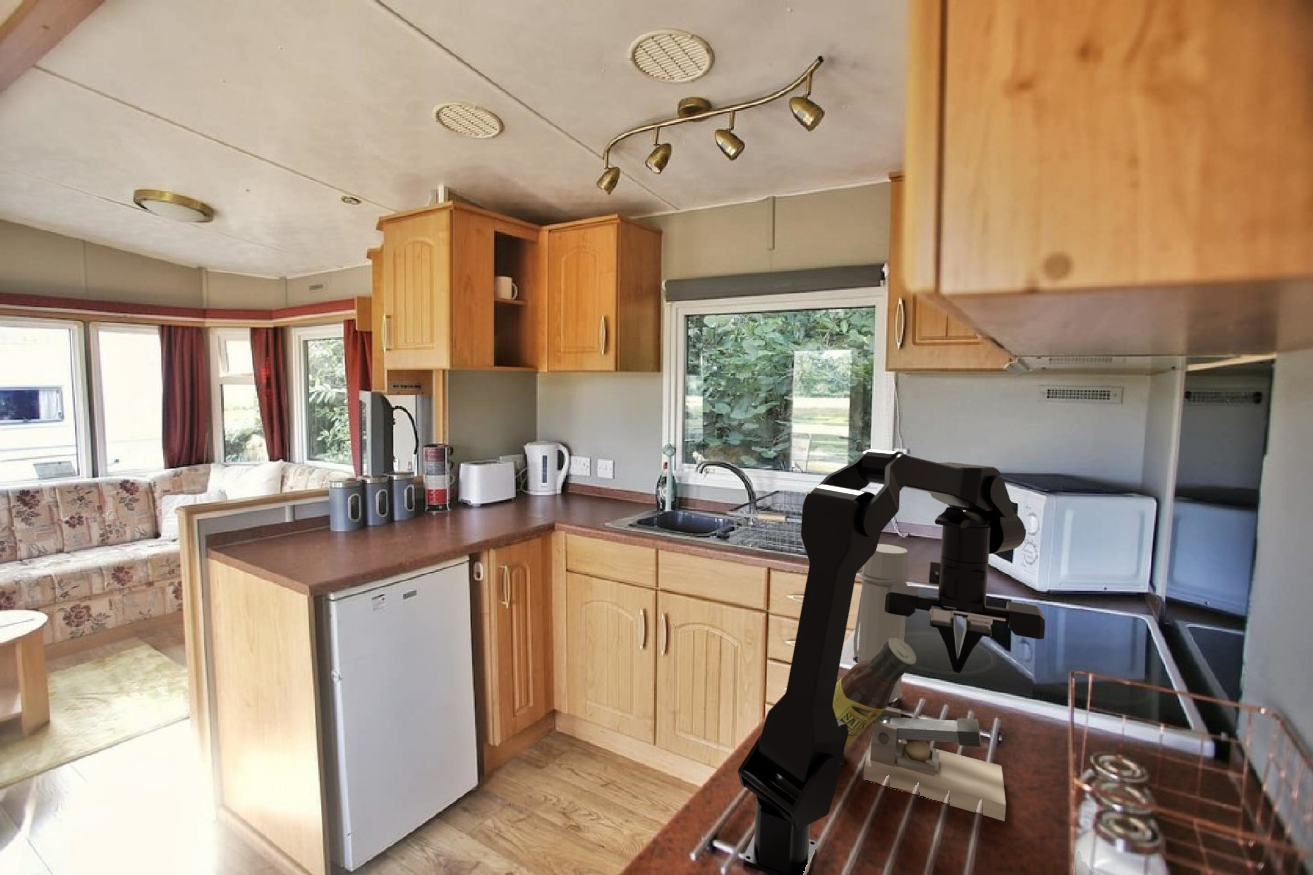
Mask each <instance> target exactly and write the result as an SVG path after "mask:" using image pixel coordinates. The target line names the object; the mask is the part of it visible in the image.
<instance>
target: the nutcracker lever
mask: <svg viewBox="0 0 1313 875" xmlns="http://www.w3.org/2000/svg"><path fill="white" fill-rule="evenodd" d="M880 722H884V723H888V724H892V725H896V726H897V739H899V740H909V739H912V740H924V741H929V742H930V741H931V742H943V743H944V742H945V743H946V742H947V743H958V744H959V746H962V747H963V746H964V747H979V748H981V747H982V744H981V742H982V741H981V731H980V726H979V719H978V718H962V717H961V718H960V717H959V718H957V720H950V719H949V720H947V719H930V718H913V717H912V718H909V717H900V718H895V717H890V716H883V717H882V718H881V720H880Z"/></svg>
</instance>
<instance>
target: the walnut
mask: <svg viewBox="0 0 1313 875" xmlns="http://www.w3.org/2000/svg"><path fill="white" fill-rule="evenodd" d="M906 741H907V743H906V745H905V751H906V754H907V756H908V757H909V758H910V759H912V760H916V761H919V762H925V761H926V760H927V759H928V758H929V756H930V749H929V747H930V746H929V745H928V743H927V742H926V740H912V739H907V740H906Z"/></svg>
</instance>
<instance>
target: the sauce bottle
mask: <svg viewBox="0 0 1313 875" xmlns="http://www.w3.org/2000/svg"><path fill="white" fill-rule="evenodd" d="M916 664H917V655H916V653H915V651H914V649H913V648H912V647H911V646H910V644H908V643H906V642H905V640H904V641H902V640H900V639H898V638H890V639H889V640H888V641H887V642H886V643H885V644H884V646H883V649H882V650H881V651H880V652H879V653H878V654H877V655H876V656H875V657H873V659H872V660H871V661H867V660H866V661H863V662H859V663H858V662H857V663H856V664H854V665H853V666H852V667H851V668H850V669H849V670H848V671H847V673H845V674H843V676H842V677H841V678H840V679H839V680H837V683H836V688H835V694H834V699H833V709H834V712H835V716H836V719H838V720H840V721H842V722H843V723H845V724H847V727H848V737H847V741H846V744H845V749H844V751H845V750H846V749H847V748H848V747H849V746H850V745H851V744H852V743H853V742H855V740H856V739H857V738H858V737H859V736H860V734H862V733H863V732H864V731H865V730H866V728H868V727H869V726H870V725H871V724H872V723H873V721H874V720H876V718H877V716H878V715H879V714H881V713H882V712H883V711H884V710H885V709H886V707H889V705H888V704H889V703H888V702H889V699H890V697H891V694H892V691H893V689H894V686H895V683H897V681H898V680H899V678H900V677H901V676H902V677H903V676H904V674H905V673H906V672H908V671H911V670H912V668H913V667H915V665H916Z"/></svg>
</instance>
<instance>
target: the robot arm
mask: <svg viewBox="0 0 1313 875" xmlns="http://www.w3.org/2000/svg"><path fill="white" fill-rule="evenodd" d="M870 483H872V484H877V485H883V486H882V487H881V488H880V489H879V491H878V492H877V493H876V494H874V493H872V492H870V491H866V490H863V489H865V488H866V487H868V485H870ZM903 488H906V489H912V490H916V491H921V492H927V493H928V494H930V496H931V498H933V499H934V500H936V501H938V502H941V503H942V504H944V505H947V507H946V508H945V510H944V511H943V512H942V513H940V514H939V515H938V516H937V517H936V518H935V520H934V524H935V525H939V526H942V529H941V530H942V531H941V546H940V562H935V561H930V563H929V564H930V565H929V572H928V573H929V575H928V584H929V585H931V586H938V590H937V591H938V592H937V597H934V596H927V595H920V594H919V590H920V589H919V587H916V586H912V585H911V586H909V585H907V586H905V585H898V584H893V585H891V586H890V587H889V589H888V591H887V593H886V598H885V612H887V613H889V614H895V615H901V616H906V617H911V616H912V615H913V614H915V613H916V610H921V611H927V612H928V611H929V615H930V618H929V627H932V628H936V629H937V630H938V632H939V634H940V637H941V638H942V641H943V643H944V646H945V648H946V651H947V654H948V658H949V661H950V662H949V663H950V665H951V668H952V672H953V673H956V674H961V673H962V671H963V669H964V667H965V664H966V663H967V661H968V659H969V657H970V655H971V653H972V651H973V650H974V649H975V647H976V646H977V645H978V643H979V642H980V640H981V639H983V637H989V638H990V637H992V633H993V632H992V626H991V625H993V623H999V624H1005V625H1008V629H1009V630H1010V631H1011V632H1012V633H1013V634H1014V635H1015V636H1018V637H1024V638H1030V639H1036V640H1044V639H1045V630H1046V629H1045V628H1046V620H1045V617H1044V615H1043V612H1042V610H1041V609H1040V607H1039V606H1038V605H1035V604H1028V603H1022V602H1017V601H1009V600H1008V601H1006V605H1005V606H1006V607H1004V608H1003V607H998V606H997V607H996V606H991V605H986V604H987V603H986V602H987V588H988V573H989V561H990V560H989V559H990V555H993V554H997V553H1001V552H1006V551H1010V550H1015V549H1018V548H1019V547H1021V545H1022V544H1023V543H1024V542H1025V540H1026V535H1027V530H1026V527H1025V525H1024V524H1025V523H1024V521H1022V518H1020V516H1019V515H1017V514H1016V513H1015V509H1014V505H1013V503H1012V501H1011V498H1010V495H1009V491H1008V489H1007V486H1006V483H1005V479H1004V478H1003V477H1002V476H1001V472H1000V470H999V469H998V468H996V467H995V466H987V465H979V464H978V465H977V464H969V463H961V462H959V463H958V462H950V461H949V462H947V461H946V462H935V461H931V460H927V459H923V458H919V457H914V456H911V455H908V454H906V453H904V452H903V451H899V450H898V451H897V450H889V449H879V448H870V449H868V450H864V451H863V452H862V453H861V454H859V455H858V457H857V458H856V459H855V460H854V461H852V462H850V463H849V464H847V465H846V466H842V467H841V468H839V469H837V470H836V471H833V472H831V473H830V474H828V475H827V476H826V477H825V478H823V479H822V481H821V482H820V483H819V484H818V485H817V486H816V487H814V488H813V489H812V491H810V492H807V494H806V496H805V497H804V500H803V504H802V509H801V510H802V511H801V525H800V537H801V541H802V543H803V547H804V549H805V552H806V556H807V559H808V562H809V564H808V570H807V577H806V582H805V587H804V592H803V598H802V603H801V609H800V615H799V620H798V625H797V631H796V637H795V641H794V646H793V647H794V648H793V653H792V658H791V663H790V667H789V675H788V680H787V685H786V689H785V690H786V691H785V693H784V694H782V696H781V697H780V698H779V699H778V700H777V702H776V703H775V704H773V705H772V707H771V708H770V709H769V710H768V711H767V714H766V717H765V720H764V724H763V727H762V731H761V733H760V735H759V736H758V738H757V740H756V741H755V742H754V744H753V746H752V747H751V749H750V750H749V752H748V753H747V755H746V757H745V758H744V760H743V762H742V763H741V764H740V766H739V768H738V769H737V774H738V778H739V781H740V785H741V786H742V787H744V788H746V789H747V790H749V792H751V793H752V794H754V795H755V797H756V798H755V800H756V802H755V816H754V817H755V818H754V819H755V820H754V821H755V822H754V833H753V836H752V838H751V840H750V842H749V844H748V846H747V848H746V850H745V853H744V854H743V858H742V859H743V861H742V862H743V863H744V864H746V865H747V866H749V867H752V868H756V869H758V870H760V871H762V872H766V871H767V872H766V873H768V874H771V875H803V873H804V872H803V871H805V867H806V865H807V864H808V861H809V859H810V857H811V856H812V854H813V852H814V850H815V848H816V846H817V847H818V842H817V841H816V840H814V839H811V838H810V834H811V832H810V831H811V830H810V828H811V824H813V823H815V822H817V821H819V820H821V819H823V818H825V817H827V816H828V815H829V813H830V810H831V806H832V803H833V799H834V796H835V792H836V788H837V785H838V782H839V778H840V774H841V765H844V764H845V750H846V749H845V744H846V741H847V737H848V727H847V724H845V723H843V722H842V721H840V720H838V719H836V716H835V712H834V709H833V699H834V694H835V688H836V683H837V682H838V675H839V672H840V666H841V660H842V654H843V649H844V643H845V637H846V634H847V633H846V632H847V626H848V622H849V621H848V620H849V616H850V615H849V614H850V609H851V604H852V598H853V593H854V587H855V582H856V577H857V575H858V574H857V573H858V572H859V571H860V570H861V569H863V565H864V564H865V563H866V562H867V561H868V560H869V559H870V558H871V557H872V556H873V554H874V553H875V552H876V549H877V545H878V544H879V541H880V538H881V535H882V532H883V531H884V529H885V527H887V525H888V524H889V523H890V522H891V521H892V519H893V518H894V517H895V516H896V515H897V514H898V512H899V511H900V497H901V496H900V494H901V493H900V492H901V491H902V489H903ZM955 616H956V617H962V618H965V621H964V627H963V631H962V632H963V633H962V636H961V641H960V645H959V646H960V647H959V652H958V649H957V635H956V625H955V624H956V623H955V622H956V621H955ZM844 749H845V750H844ZM808 872H809V873H810V870H809V871H808Z"/></svg>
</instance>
